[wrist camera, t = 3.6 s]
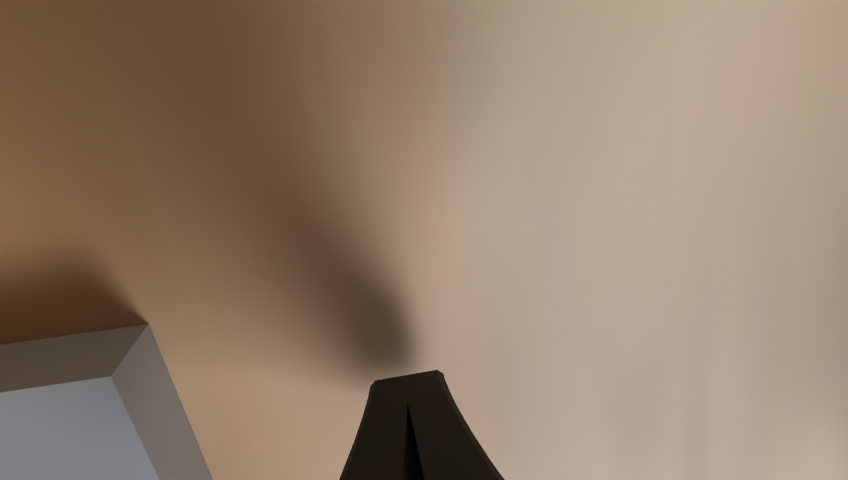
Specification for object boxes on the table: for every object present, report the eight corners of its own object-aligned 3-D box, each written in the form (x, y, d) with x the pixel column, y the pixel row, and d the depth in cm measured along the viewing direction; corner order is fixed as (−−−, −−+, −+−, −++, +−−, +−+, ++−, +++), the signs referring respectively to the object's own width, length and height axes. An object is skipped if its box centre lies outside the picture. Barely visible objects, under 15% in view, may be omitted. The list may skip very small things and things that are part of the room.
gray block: (157, 311, 10) (109, 376, 8) (224, 481, 12) (198, 562, 10) (-202, 362, 10) (-333, 441, 8) (-69, 528, 12) (-150, 620, 10)
